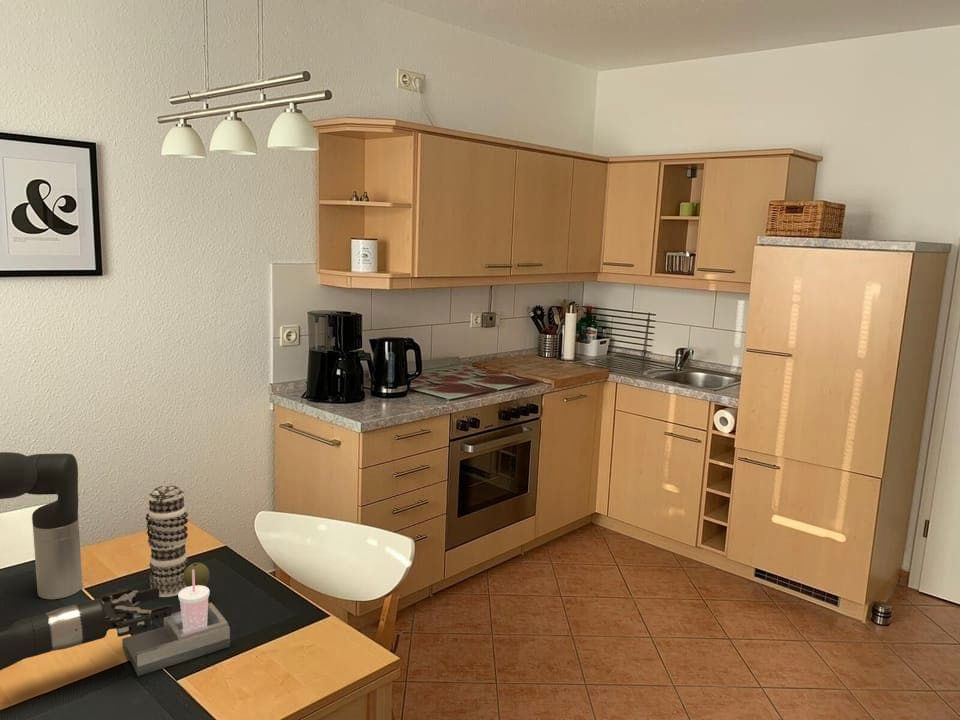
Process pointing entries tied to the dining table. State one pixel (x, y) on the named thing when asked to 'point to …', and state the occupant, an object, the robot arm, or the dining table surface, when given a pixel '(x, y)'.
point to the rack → (176, 642)
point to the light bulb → (196, 574)
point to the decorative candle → (167, 539)
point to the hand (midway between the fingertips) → (164, 600)
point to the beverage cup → (194, 606)
